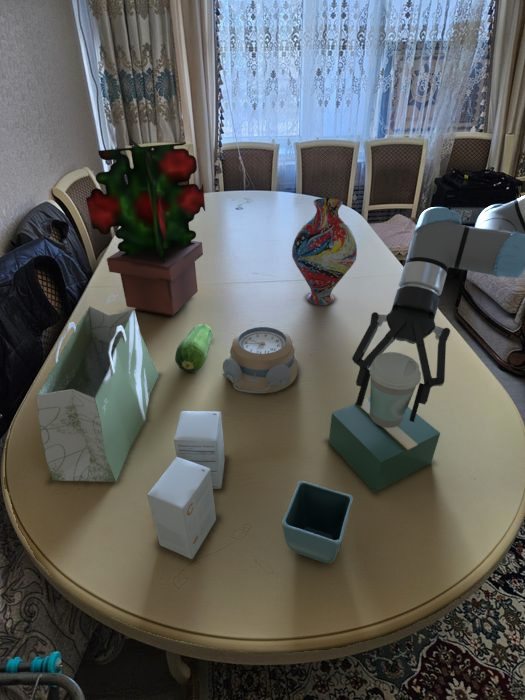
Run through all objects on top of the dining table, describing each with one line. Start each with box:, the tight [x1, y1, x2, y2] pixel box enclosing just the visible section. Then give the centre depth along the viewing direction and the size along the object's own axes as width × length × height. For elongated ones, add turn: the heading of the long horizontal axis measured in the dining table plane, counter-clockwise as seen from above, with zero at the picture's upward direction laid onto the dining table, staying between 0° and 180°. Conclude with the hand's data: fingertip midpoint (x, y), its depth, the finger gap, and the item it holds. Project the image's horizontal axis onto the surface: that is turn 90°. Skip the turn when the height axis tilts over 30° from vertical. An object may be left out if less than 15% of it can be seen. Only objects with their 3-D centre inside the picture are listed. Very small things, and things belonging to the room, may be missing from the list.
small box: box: [146, 456, 217, 560], centre depth 70 cm, size 8×6×13 cm
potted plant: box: [85, 139, 206, 317], centre depth 125 cm, size 22×22×45 cm
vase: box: [291, 197, 358, 306], centre depth 132 cm, size 19×19×30 cm
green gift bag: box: [36, 305, 160, 483], centre depth 89 cm, size 32×14×23 cm, turn 178°
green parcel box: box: [328, 397, 441, 493], centre depth 86 cm, size 14×14×8 cm
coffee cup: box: [369, 351, 422, 428], centre depth 79 cm, size 8×8×12 cm
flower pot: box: [281, 480, 354, 564], centre depth 69 cm, size 9×9×9 cm
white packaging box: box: [173, 410, 226, 490], centre depth 80 cm, size 7×7×13 cm
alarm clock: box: [222, 326, 299, 394], centre depth 105 cm, size 17×9×23 cm
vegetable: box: [174, 323, 214, 372], centre depth 114 cm, size 7×7×20 cm
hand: (384, 412), depth 78 cm, fingers closed on coffee cup, 8 cm apart
